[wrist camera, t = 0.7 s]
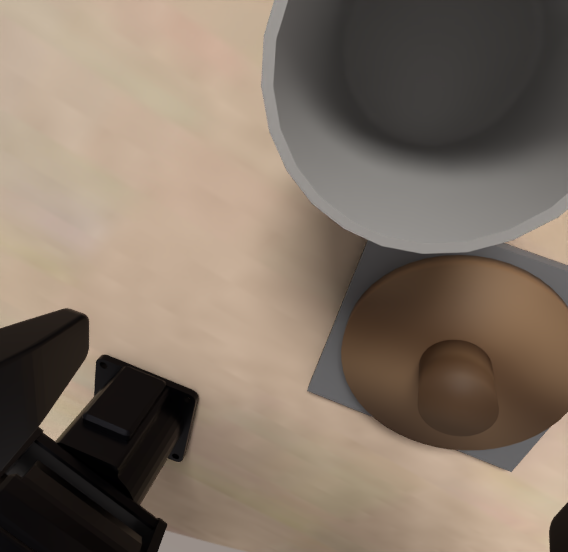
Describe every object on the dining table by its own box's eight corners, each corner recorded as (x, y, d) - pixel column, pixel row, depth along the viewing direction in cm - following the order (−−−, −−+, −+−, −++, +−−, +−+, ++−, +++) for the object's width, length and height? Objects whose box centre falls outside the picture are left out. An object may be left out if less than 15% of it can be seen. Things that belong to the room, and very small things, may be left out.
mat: (509, 462, 24) (511, 471, 24) (309, 383, 26) (307, 390, 25) (651, 294, 19) (657, 303, 18) (383, 200, 20) (382, 205, 19)
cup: (360, 170, 19) (313, 274, 12) (289, -127, 15) (151, -253, 8) (561, 125, 17) (665, 223, 9) (539, -249, 13) (693, -618, 5)
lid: (506, 462, 24) (516, 526, 21) (318, 387, 25) (303, 439, 22) (635, 308, 18) (673, 365, 15) (389, 220, 19) (381, 258, 16)
